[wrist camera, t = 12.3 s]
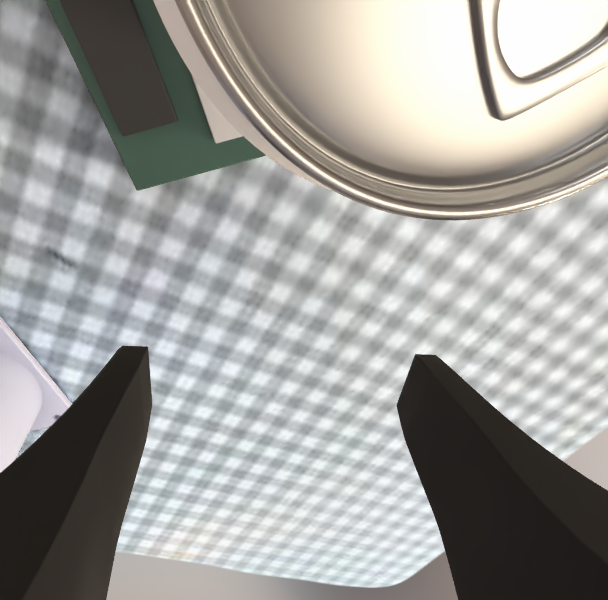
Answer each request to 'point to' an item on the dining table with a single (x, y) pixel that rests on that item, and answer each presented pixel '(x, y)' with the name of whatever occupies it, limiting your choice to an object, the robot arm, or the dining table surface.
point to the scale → (147, 92)
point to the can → (411, 95)
